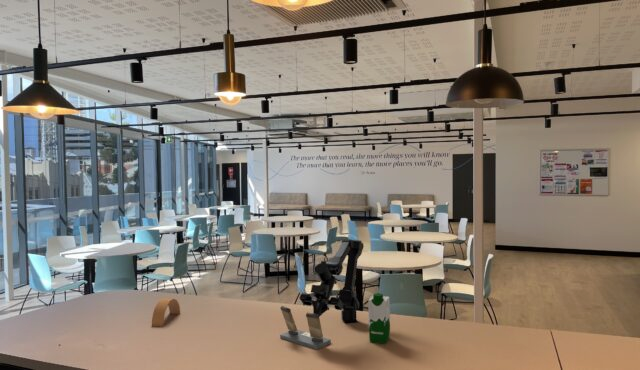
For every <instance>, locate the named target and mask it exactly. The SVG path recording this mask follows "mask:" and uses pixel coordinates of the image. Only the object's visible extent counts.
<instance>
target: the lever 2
mask: <svg viewBox="0 0 640 370" xmlns="http://www.w3.org/2000/svg"><path fill="white" fill-rule="evenodd" d="M305 317H306V321H307V326H308V329H309V333H310V336H311V337H313V338H319V339H322V337H324V334H323V331H322V325H321V324H322V323H321V320H320V317H319V314H313V312H306V313H305Z"/></svg>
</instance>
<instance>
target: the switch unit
mask: <svg viewBox="0 0 640 370" xmlns="http://www.w3.org/2000/svg"><path fill="white" fill-rule="evenodd" d="M279 337H280V339H281V340H286V341H287V342H288V341H289V342H290V343H294V344H297V345H301V346H304V347H307V348H310V349H313V350H316V351H317V350H320V349H321V348H323V347H325V346H328V345H329V344H331V343H332V340H331V339H330V338H327V337H324V336H323V337H322V339H319V338H313V337H311V336H310V332H307V331H302V330H300V329H297V331H296V332H293V331H291V330H288V331H286V332H283V333H281V334H280V335H279Z"/></svg>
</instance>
